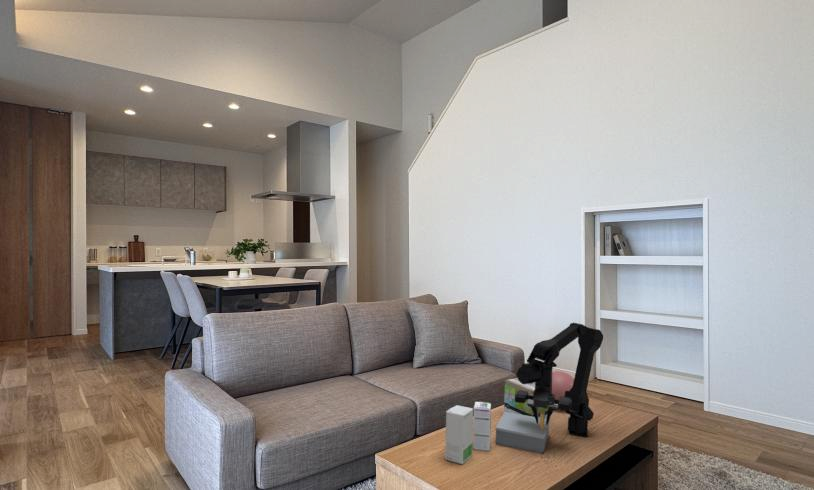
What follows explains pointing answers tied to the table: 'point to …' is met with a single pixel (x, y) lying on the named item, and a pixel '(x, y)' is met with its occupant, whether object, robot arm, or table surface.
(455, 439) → the skincare box
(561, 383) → the balloon
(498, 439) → the grey flat block
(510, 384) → the tea box
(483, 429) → the syrup box
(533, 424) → the lid
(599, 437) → the table surface
